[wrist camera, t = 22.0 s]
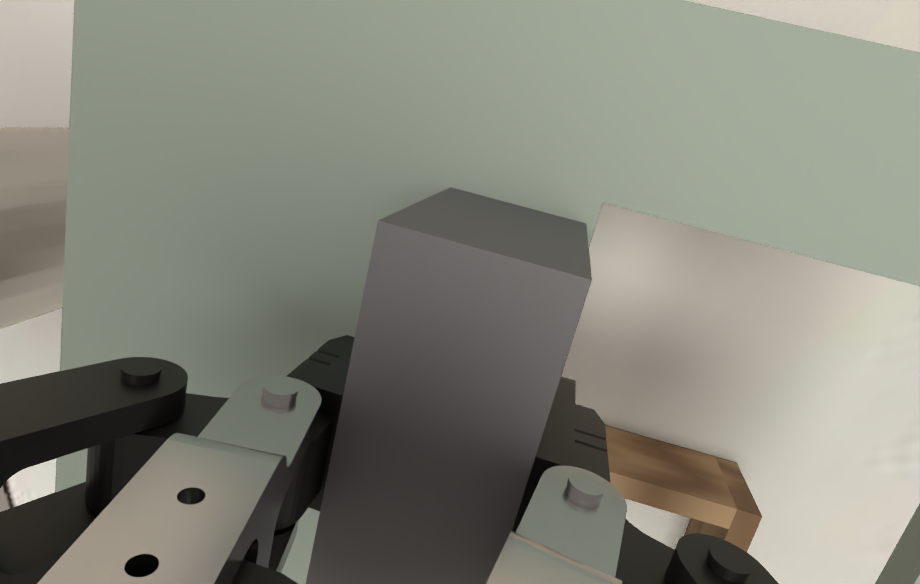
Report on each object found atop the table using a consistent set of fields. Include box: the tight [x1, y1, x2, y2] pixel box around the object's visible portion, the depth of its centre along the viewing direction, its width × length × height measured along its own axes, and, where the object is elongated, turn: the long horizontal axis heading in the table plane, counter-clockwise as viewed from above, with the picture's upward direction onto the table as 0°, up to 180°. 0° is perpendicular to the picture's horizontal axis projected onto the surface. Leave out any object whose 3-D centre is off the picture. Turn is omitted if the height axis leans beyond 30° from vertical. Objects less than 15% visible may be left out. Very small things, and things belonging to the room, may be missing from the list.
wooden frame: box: [605, 426, 762, 552], centre depth 35 cm, size 22×15×5 cm
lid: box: [55, 0, 920, 584], centre depth 12 cm, size 24×17×6 cm
